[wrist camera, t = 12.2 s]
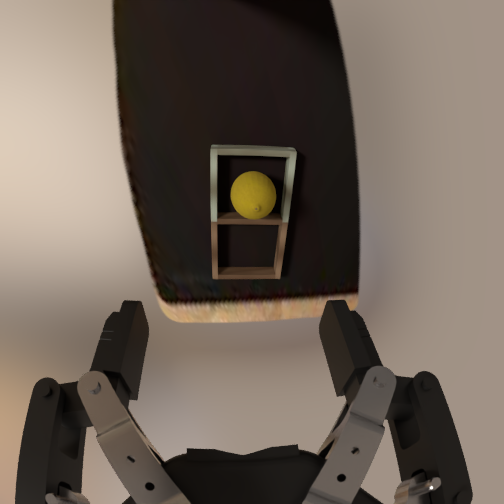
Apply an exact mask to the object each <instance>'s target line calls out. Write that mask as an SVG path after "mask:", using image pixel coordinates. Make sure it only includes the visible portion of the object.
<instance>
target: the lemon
mask: <svg viewBox="0 0 504 504" xmlns="http://www.w3.org/2000/svg"><path fill="white" fill-rule="evenodd" d="M231 200H232V204H233V206H234V208H235V209H236V211H237V212H238V213H239V214H240V215H241V216H243V217H245V218H248V219H253V220H256V219H261V218H263V217H265V216H267V215H268V214H269V213H270V212H271V211H272V209H273V207H274V205H275V201H276V190H275V187H274V184H273V183H272V181H271V180H270V179H269V178H268V177H267V176H266V175H264V174H262V173H260V172H256V171H250V172H246V173H244V174H242V175H240V176H239V177H238V178H237V179H236V180H235V182H234V183H233V186H232V189H231Z"/></svg>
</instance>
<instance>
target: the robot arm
mask: <svg viewBox="0 0 504 504" xmlns="http://www.w3.org/2000/svg"><path fill="white" fill-rule="evenodd" d="M319 334H320V338H321V342H322V345H323V349H324V352H325V355H326V359H327V363H328V366H329V370H330V373H331V377H332V380H333V384H334V388H335V392H336V395H337V397H338V396H343V395H345V397H346V403H345V404H344V406H343V409H342V410H341V412H340V414H339V417H338V418H337V420H336V422H335V424H334V426H333V428H332V430H331V432H330V434H329V435H328V437H327V438H326V440H325V441H324V443H323V444H322V446H321V447H320V449H319V451H318V452H317V454H314V453H311V452H309V451H304V450H299V449H298V444H297V445H288V446H279V447H270V448H267V449H264V450H260V451H257V452H254V453H250V454H247V455H238V454H234V453H228V452H224V451H220V450H215V449H190V448H187V453H186V454H182V455H178V456H175V457H173V458H171V459H169V460H167V461H164V460H163V458H162V457H161V456H160V454H159V453H158V452H157V450H156V449H155V448H154V446H153V445H152V444H151V442H150V441H149V440H148V438H147V437H146V435H145V434H144V432H143V431H142V429H141V428H140V426H139V425H138V423H137V422H136V420H135V418H134V417H133V415H132V414H131V412H130V410H129V409H128V405H129V399H130V400H137V399H138V392H139V386H140V380H141V374H142V367H143V363H144V356H145V352H146V347H147V342H148V337H149V327H148V322H147V319H146V315H145V312H144V308H143V305H142V302H141V301H126V300H125V301H123V303H122V306H121V309H120V312H113V313H112V314H111V315H110V316H109V318H108V319H107V320H106V322H105V325H104V328H103V332H102V334H101V337H100V340H99V343H98V346H97V349H96V353H95V356H94V359H93V362H92V366H91V369H90V371H89V372H87V373H85V374H84V375H83V376H82V377H81V378H80V379H79V381H76V382H72V383H64V384H58V383H57V382H56V380H54V379H52V378H43V379H41V380H39V381H38V382H37V383H36V384H35V386H34V388H33V392H32V396H31V399H30V403H29V408H28V412H27V417H26V421H25V426H24V431H23V436H22V442H21V448H20V455H19V462H18V470H17V481H16V495H15V504H90V502H89V501H88V499H87V498H86V497H85V496H83V495H82V494H81V488H82V468H83V456H84V445H85V436H86V428H87V427H91V426H94V428H95V430H96V432H97V436H96V437H97V441H98V443H99V445H100V446H101V448H102V450H103V452H104V454H105V456H106V457H107V459H108V461H109V463H110V464H111V466H112V468H113V469H114V471H115V472H116V474H117V476H118V477H119V479H120V480H121V482H122V483H123V485H124V486H125V488H126V489H127V490H128V492H129V494H130V495H131V496H130V497H129V498H128V499H126V500H125V501H124V502H123V503H122V504H383V503H381V502H380V501H378V500H377V499H376V498H374V497H373V496H372V495H370V494H369V493H367V492H366V491H364V490H363V489H362V488H361V487H360V486H361V484H362V482H363V480H364V478H365V476H366V474H367V472H368V469H369V467H370V465H371V463H372V461H373V459H374V456H375V454H376V451H377V449H378V447H379V444H380V442H381V439H382V437H383V434H384V431H385V427H384V426H383V422H384V419H387V420H388V423H389V427H390V431H391V435H392V439H393V443H394V448H395V452H396V457H397V461H398V465H399V471H400V476H401V481H402V483H401V484H400V485H399V486H398V487H397V489H396V492H395V496H394V498H395V503H394V504H471V501H472V497H473V493H472V488H471V483H470V479H469V474H468V471H467V466H466V462H465V458H464V455H463V452H462V448H461V444H460V441H459V438H458V435H457V431H456V429H455V425H454V422H453V419H452V416H451V413H450V410H449V407H448V404H447V402H446V399H445V396H444V394H443V391H442V388H441V386H440V383H439V381H438V379H437V378H436V376H435V375H433V374H432V373H430V372H427V371H422V372H419V373H418V374H417V375H416V376H415V377H414V378H410V377H401V376H396V375H394V373H393V372H392V371H391V370H390V369H388V368H386V367H384V366H383V365H382V363H381V361H380V358H379V356H378V353H377V351H376V348H375V346H374V343H373V341H372V339H371V337H370V334H369V332H368V330H367V327H366V325H365V322H364V321H363V318H362V317H361V316H360V315H359V314H358V313H357V312H356V311H350V310H349V308H348V305H347V303H346V301H345V300H329V301H327V302H326V305H325V308H324V312H323V315H322V318H321V321H320V324H319Z"/></svg>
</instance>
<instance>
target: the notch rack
mask: <svg viewBox="0 0 504 504" xmlns="http://www.w3.org/2000/svg"><path fill="white" fill-rule="evenodd" d="M218 155H251V156H275V157H287V158H286V167H285V177H284V186H283V195H282V204H281V212H280V213H269V214H268V215H267V216H265V217H263V218H261V219H256V220H253V219H248V218H245V217H243V216H241V215H240V214H239V213H238V212H217V174H218ZM296 155H297V151H296V150H295V149H294V148H289V147H273V146H250V145H211V238H212V271H213V279H280V275H281V268H282V262H283V255H284V248H285V241H286V234H287V226H288V219H289V211H290V204H291V196H292V188H293V180H294V172H295V163H296ZM217 224H261V225H279V229H278V238H277V246H276V254H275V262H274V267H218V228H217Z"/></svg>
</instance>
